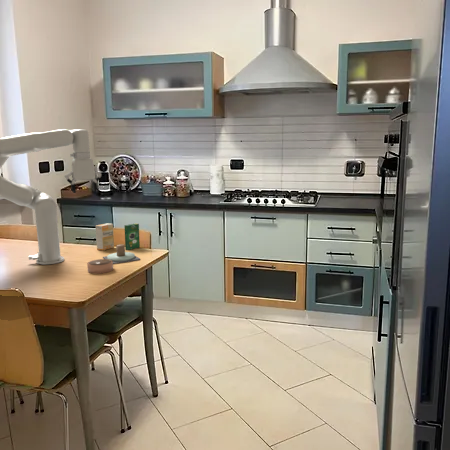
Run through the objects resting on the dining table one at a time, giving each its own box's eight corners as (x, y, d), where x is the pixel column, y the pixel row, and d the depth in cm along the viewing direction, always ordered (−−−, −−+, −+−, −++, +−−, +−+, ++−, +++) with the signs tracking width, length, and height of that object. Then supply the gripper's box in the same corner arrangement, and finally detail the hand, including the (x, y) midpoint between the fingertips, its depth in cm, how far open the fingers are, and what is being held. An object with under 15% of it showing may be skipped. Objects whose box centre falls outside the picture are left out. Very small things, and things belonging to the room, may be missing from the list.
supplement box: (103, 250, 246) (101, 226, 243) (96, 249, 248) (95, 225, 246) (114, 247, 252) (113, 223, 250) (108, 246, 255) (106, 222, 252)
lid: (112, 262, 220) (111, 250, 219) (103, 256, 231) (103, 244, 230) (138, 258, 227) (138, 246, 226) (129, 253, 238) (128, 241, 237)
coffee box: (136, 246, 254) (135, 222, 251) (140, 247, 252) (139, 223, 249) (125, 249, 247) (123, 225, 245) (128, 250, 246) (127, 225, 243)
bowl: (91, 275, 204) (91, 266, 203) (84, 269, 213) (84, 261, 212) (116, 270, 209) (116, 263, 209) (108, 265, 219) (108, 257, 218)
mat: (111, 264, 220) (111, 263, 220) (102, 257, 232) (102, 256, 231) (140, 260, 227) (140, 258, 227) (130, 253, 239) (130, 252, 238)
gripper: (64, 157, 217) (67, 194, 220) (102, 155, 226) (104, 191, 229) (61, 156, 223) (64, 192, 227) (97, 155, 232) (100, 189, 235)
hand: (84, 191), depth 228 cm, fingers open, 9 cm apart
